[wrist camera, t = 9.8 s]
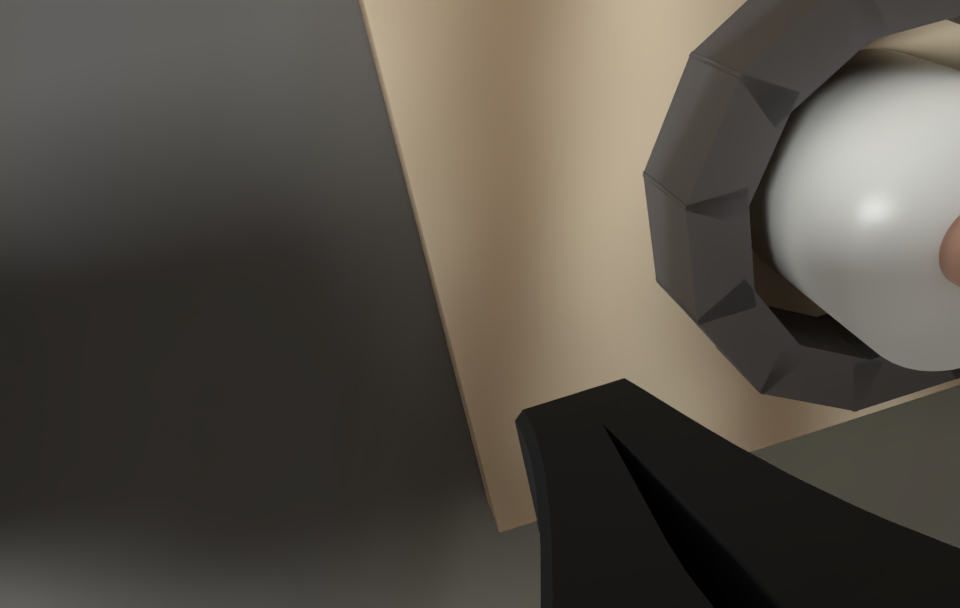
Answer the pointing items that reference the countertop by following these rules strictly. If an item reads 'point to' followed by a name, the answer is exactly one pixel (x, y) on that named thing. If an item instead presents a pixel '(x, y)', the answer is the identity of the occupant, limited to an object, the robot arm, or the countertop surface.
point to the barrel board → (627, 206)
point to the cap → (872, 205)
